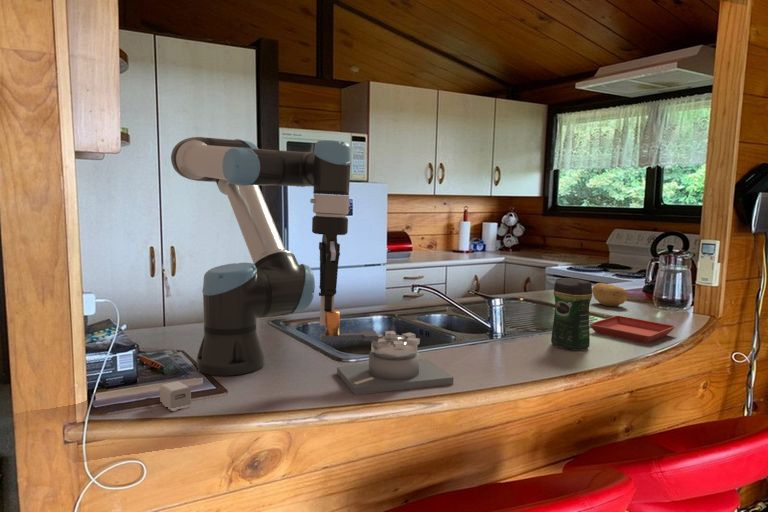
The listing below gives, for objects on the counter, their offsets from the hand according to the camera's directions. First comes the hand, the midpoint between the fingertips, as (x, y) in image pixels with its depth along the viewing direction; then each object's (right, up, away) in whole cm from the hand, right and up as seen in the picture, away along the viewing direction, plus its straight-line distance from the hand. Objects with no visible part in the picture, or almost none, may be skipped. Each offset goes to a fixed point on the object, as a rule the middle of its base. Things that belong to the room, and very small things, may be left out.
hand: (326, 324), depth 120 cm
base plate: (+15, -12, +2) cm, 19 cm away
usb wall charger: (-28, -14, -15) cm, 34 cm away
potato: (+96, -4, +88) cm, 131 cm away
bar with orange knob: (+9, -6, 0) cm, 11 cm away
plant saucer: (+86, -9, +46) cm, 98 cm away
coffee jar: (+63, -10, +31) cm, 70 cm away
